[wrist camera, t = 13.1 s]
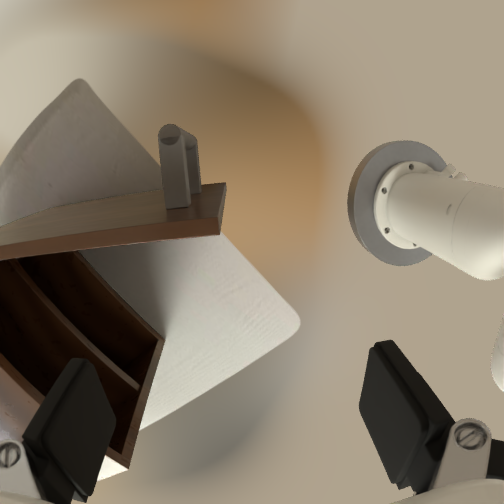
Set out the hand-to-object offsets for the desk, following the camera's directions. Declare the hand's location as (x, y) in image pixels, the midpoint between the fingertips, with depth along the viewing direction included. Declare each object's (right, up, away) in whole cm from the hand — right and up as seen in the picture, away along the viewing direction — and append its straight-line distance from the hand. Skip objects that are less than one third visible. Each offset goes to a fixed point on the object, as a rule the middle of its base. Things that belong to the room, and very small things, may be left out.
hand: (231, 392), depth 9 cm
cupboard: (-28, -5, +34) cm, 44 cm away
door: (-16, +15, +29) cm, 36 cm away
